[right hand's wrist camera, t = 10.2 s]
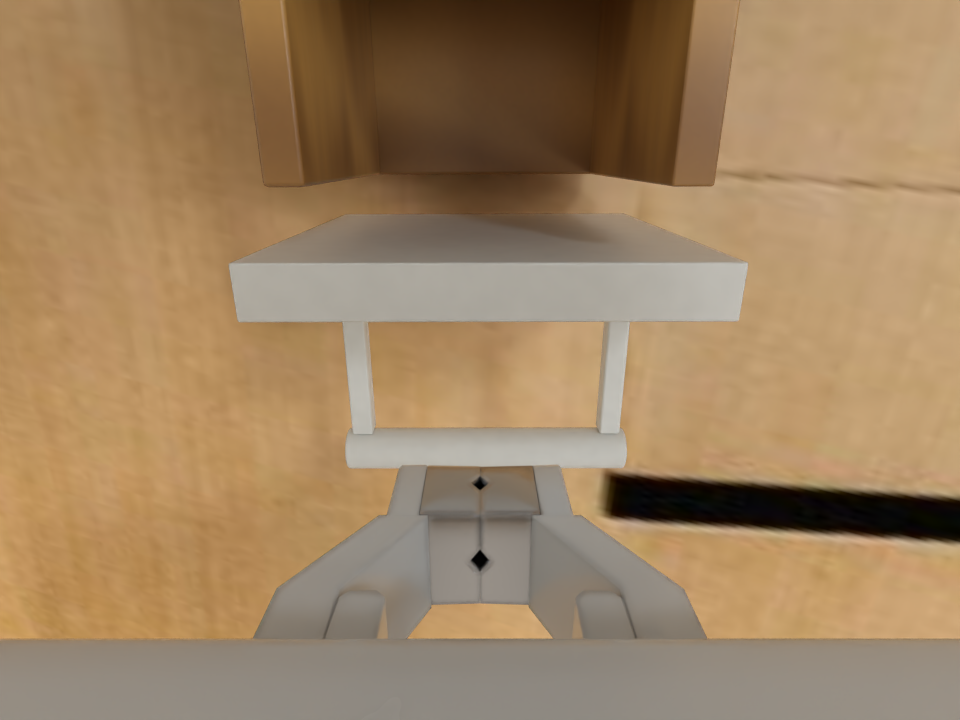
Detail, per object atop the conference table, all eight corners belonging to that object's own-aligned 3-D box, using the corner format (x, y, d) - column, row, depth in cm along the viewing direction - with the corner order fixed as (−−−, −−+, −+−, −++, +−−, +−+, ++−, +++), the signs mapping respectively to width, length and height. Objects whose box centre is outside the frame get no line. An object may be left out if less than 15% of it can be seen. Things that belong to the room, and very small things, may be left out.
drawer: (609, 392, 22) (699, 557, 13) (360, 392, 22) (275, 558, 13) (663, -225, 15) (928, -776, 6) (307, -224, 15) (56, -772, 6)
